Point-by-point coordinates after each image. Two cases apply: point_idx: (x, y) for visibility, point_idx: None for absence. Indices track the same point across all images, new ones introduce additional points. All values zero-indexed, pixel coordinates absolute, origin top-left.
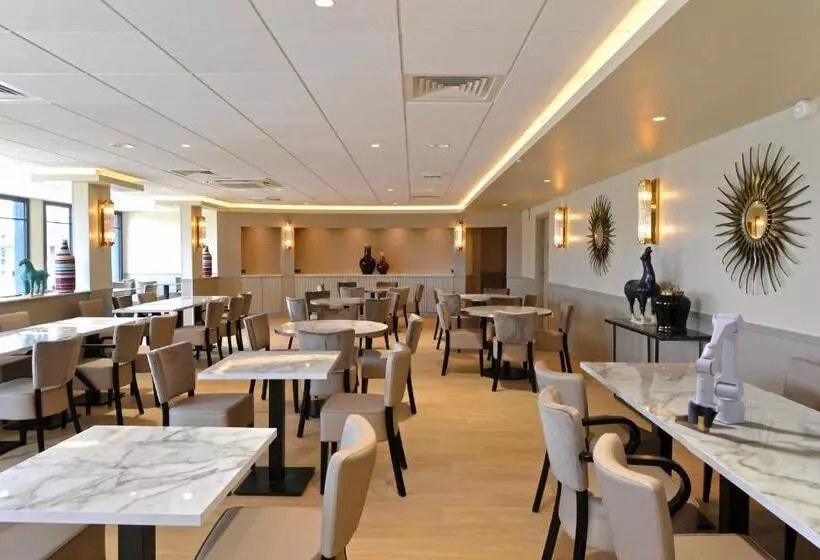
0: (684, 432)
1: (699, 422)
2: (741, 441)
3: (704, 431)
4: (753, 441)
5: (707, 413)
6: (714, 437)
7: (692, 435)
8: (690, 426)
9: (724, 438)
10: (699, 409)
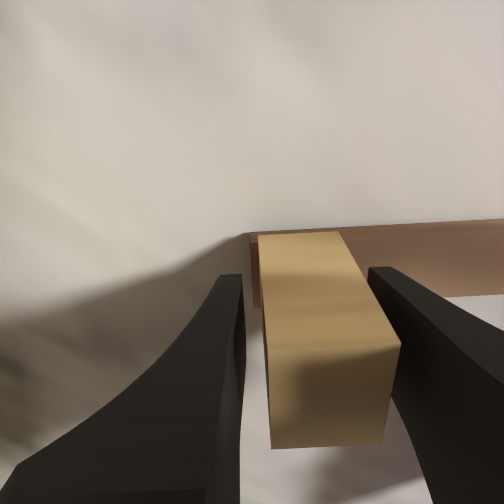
0: (353, 6)
1: (338, 277)
2: (11, 381)
3: (251, 245)
4: (23, 445)
5: (41, 451)
6: (119, 247)
7: (211, 26)
8: (462, 227)
9: (88, 313)
10: (499, 498)
